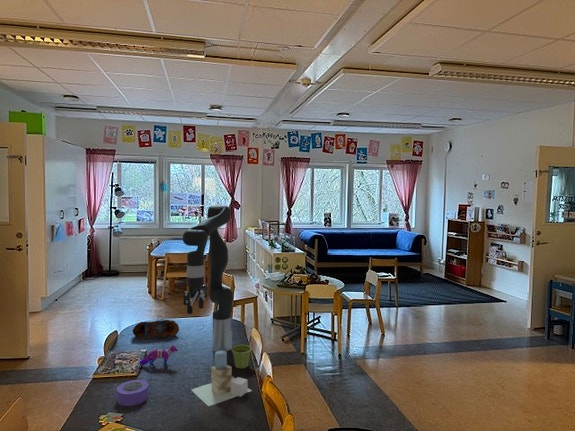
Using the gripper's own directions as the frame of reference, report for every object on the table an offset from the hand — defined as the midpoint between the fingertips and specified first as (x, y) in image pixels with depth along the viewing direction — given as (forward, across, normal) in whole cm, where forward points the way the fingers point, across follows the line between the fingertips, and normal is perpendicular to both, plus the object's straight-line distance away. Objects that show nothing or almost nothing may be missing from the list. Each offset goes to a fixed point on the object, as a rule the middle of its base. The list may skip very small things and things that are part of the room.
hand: (195, 311), depth 181 cm
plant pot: (+30, -18, +14) cm, 38 cm away
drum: (+20, +6, +17) cm, 27 cm away
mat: (+30, +6, +17) cm, 35 cm away
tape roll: (+30, +25, -13) cm, 42 cm away
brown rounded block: (+31, -36, -51) cm, 69 cm away
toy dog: (+30, -2, -22) cm, 38 cm away
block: (+30, +5, +25) cm, 39 cm away
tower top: (+25, +6, +17) cm, 31 cm away
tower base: (+30, +6, +17) cm, 35 cm away
